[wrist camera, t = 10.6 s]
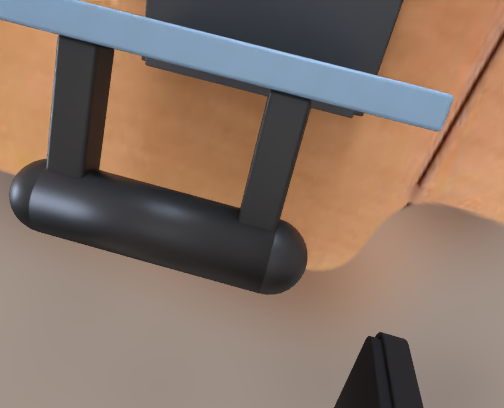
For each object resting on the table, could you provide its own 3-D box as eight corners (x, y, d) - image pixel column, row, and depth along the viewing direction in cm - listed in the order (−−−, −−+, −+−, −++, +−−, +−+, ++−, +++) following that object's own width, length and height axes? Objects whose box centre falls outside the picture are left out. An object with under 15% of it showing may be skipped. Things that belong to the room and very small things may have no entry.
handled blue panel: (-82, -41, 7) (-80, 219, 8) (456, 95, 6) (360, 343, 8) (151, 32, 17) (135, 141, 19) (362, 85, 17) (328, 192, 18)
